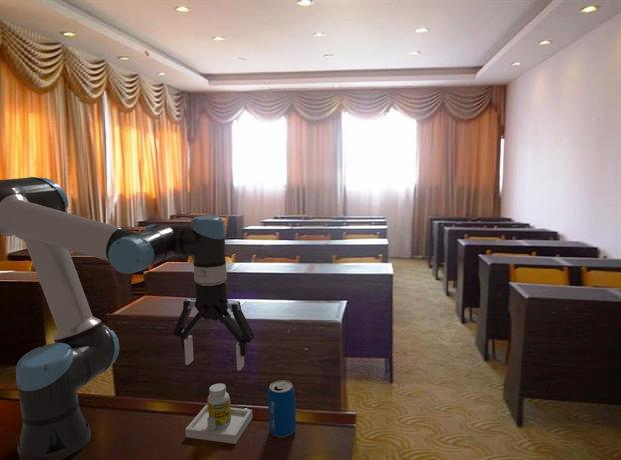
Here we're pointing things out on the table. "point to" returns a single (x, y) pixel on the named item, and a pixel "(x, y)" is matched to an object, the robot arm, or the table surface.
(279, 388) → the beverage can
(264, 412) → the table surface
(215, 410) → the supplement bottle
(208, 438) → the tray
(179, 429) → the table surface
